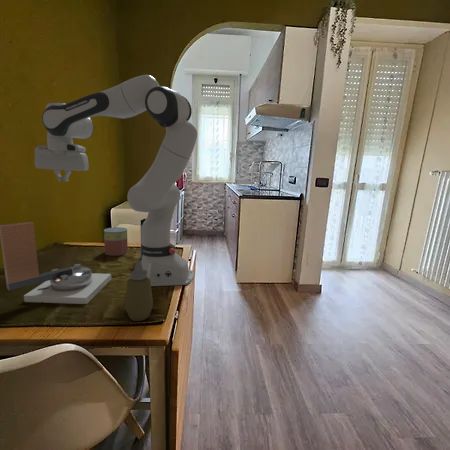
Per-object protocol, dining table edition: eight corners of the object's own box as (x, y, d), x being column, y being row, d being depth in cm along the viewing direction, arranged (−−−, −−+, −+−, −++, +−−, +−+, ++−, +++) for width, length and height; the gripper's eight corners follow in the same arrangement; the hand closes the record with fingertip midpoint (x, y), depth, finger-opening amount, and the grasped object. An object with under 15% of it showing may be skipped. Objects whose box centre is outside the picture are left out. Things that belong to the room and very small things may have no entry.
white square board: (111, 279, 107) (111, 273, 106) (86, 304, 87) (86, 297, 86) (60, 277, 106) (60, 271, 106) (24, 301, 87) (23, 294, 86)
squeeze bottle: (155, 309, 86) (155, 256, 82) (149, 324, 78) (149, 265, 74) (130, 309, 85) (128, 255, 82) (121, 323, 77) (119, 264, 74)
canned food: (110, 248, 145) (109, 226, 143) (131, 249, 145) (130, 227, 142) (100, 254, 134) (99, 231, 132) (122, 256, 134) (121, 232, 131)
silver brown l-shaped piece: (82, 273, 105) (78, 214, 100) (98, 283, 97) (95, 219, 92) (3, 293, 86) (-6, 222, 81) (15, 308, 78) (5, 229, 73)
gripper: (28, 144, 104) (32, 180, 107) (81, 147, 104) (84, 182, 107) (39, 145, 110) (42, 179, 113) (89, 148, 111) (91, 182, 113)
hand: (63, 181), depth 110 cm, fingers closed
